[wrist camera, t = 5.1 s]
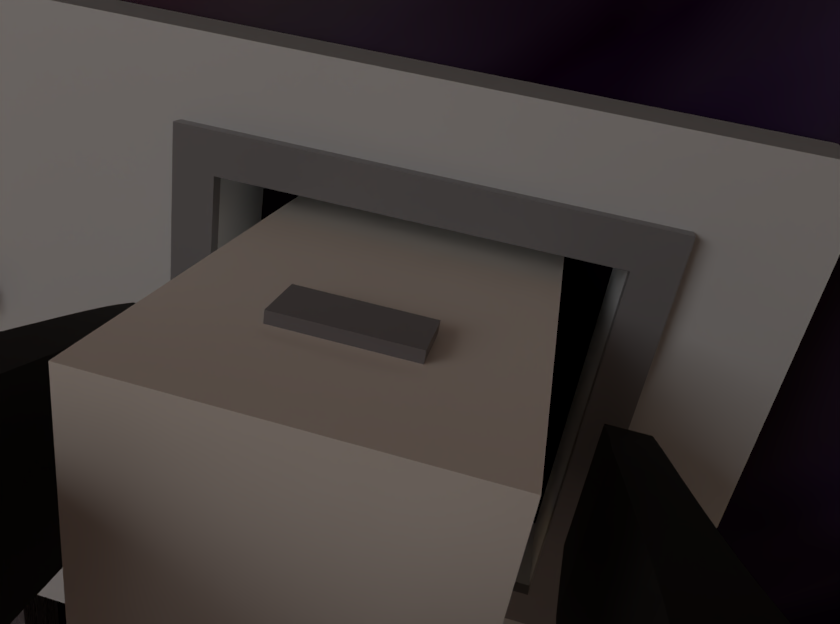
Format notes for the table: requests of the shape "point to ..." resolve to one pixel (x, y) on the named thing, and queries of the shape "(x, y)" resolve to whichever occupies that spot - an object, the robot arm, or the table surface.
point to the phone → (39, 612)
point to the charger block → (311, 430)
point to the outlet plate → (423, 210)
